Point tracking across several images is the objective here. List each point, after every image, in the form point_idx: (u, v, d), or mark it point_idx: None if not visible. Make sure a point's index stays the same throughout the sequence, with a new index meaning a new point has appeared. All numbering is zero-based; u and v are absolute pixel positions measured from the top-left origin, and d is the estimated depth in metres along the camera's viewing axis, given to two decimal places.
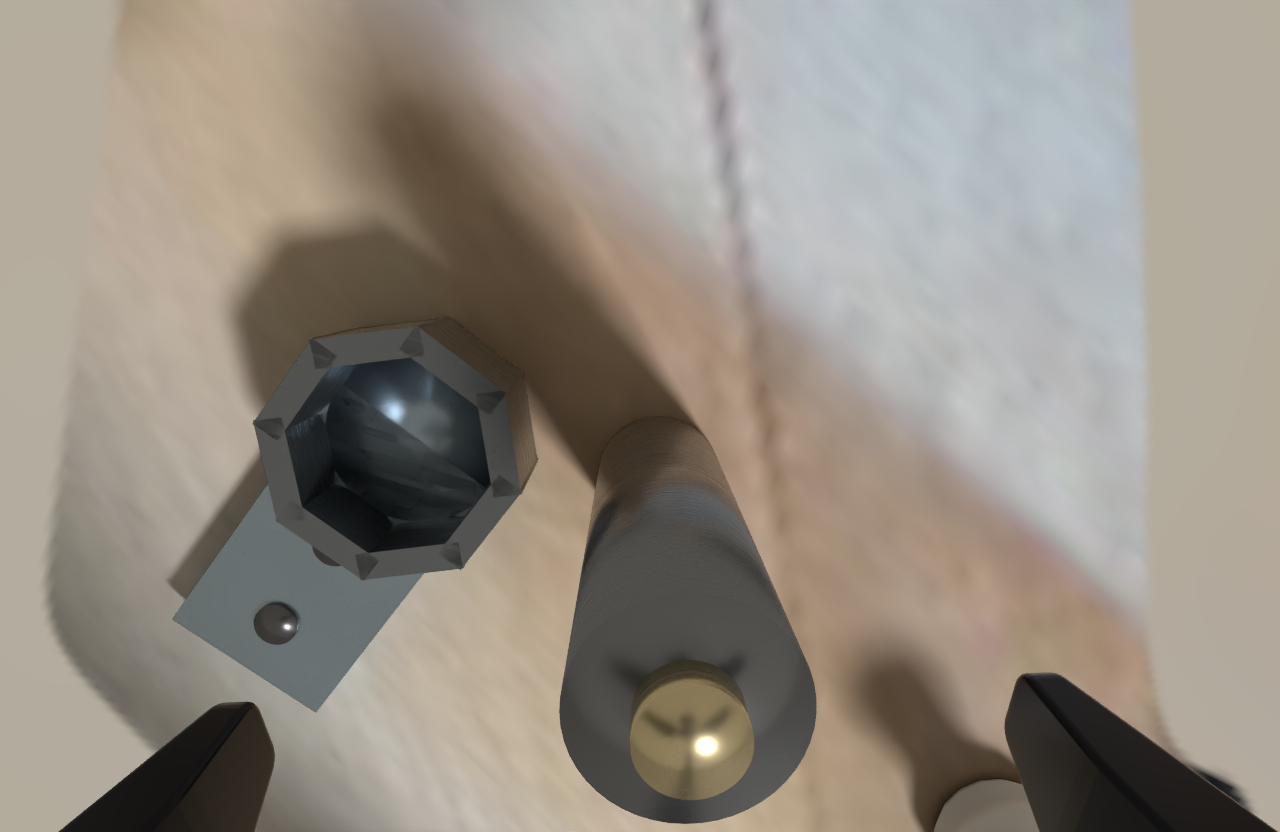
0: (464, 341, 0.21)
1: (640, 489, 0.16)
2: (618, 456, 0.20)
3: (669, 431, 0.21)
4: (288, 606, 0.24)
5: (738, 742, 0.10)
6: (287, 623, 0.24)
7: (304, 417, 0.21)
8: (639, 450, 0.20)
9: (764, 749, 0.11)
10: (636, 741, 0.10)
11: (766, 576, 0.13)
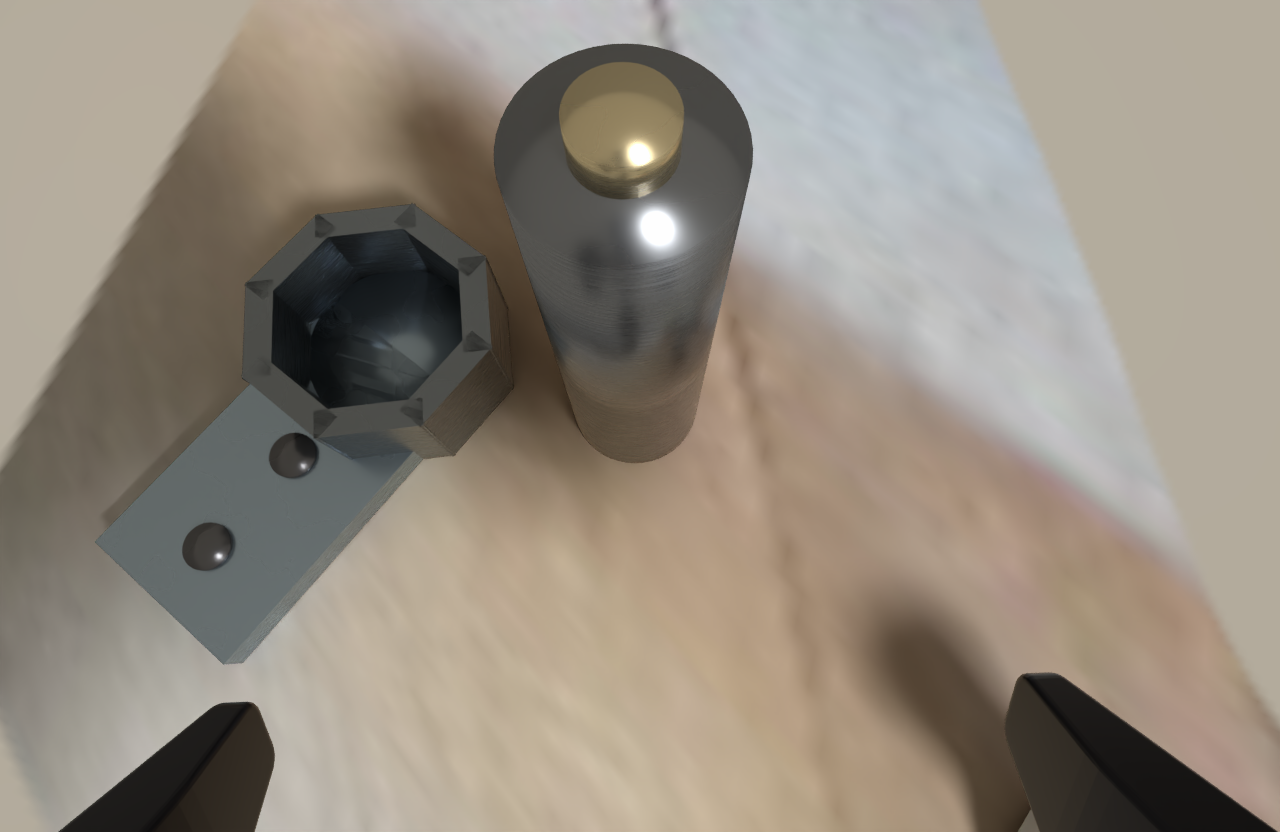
0: None
1: None
2: None
3: None
4: (226, 528, 0.22)
5: (667, 109, 0.10)
6: (220, 544, 0.21)
7: (293, 300, 0.22)
8: None
9: (702, 185, 0.11)
10: (565, 107, 0.10)
11: None
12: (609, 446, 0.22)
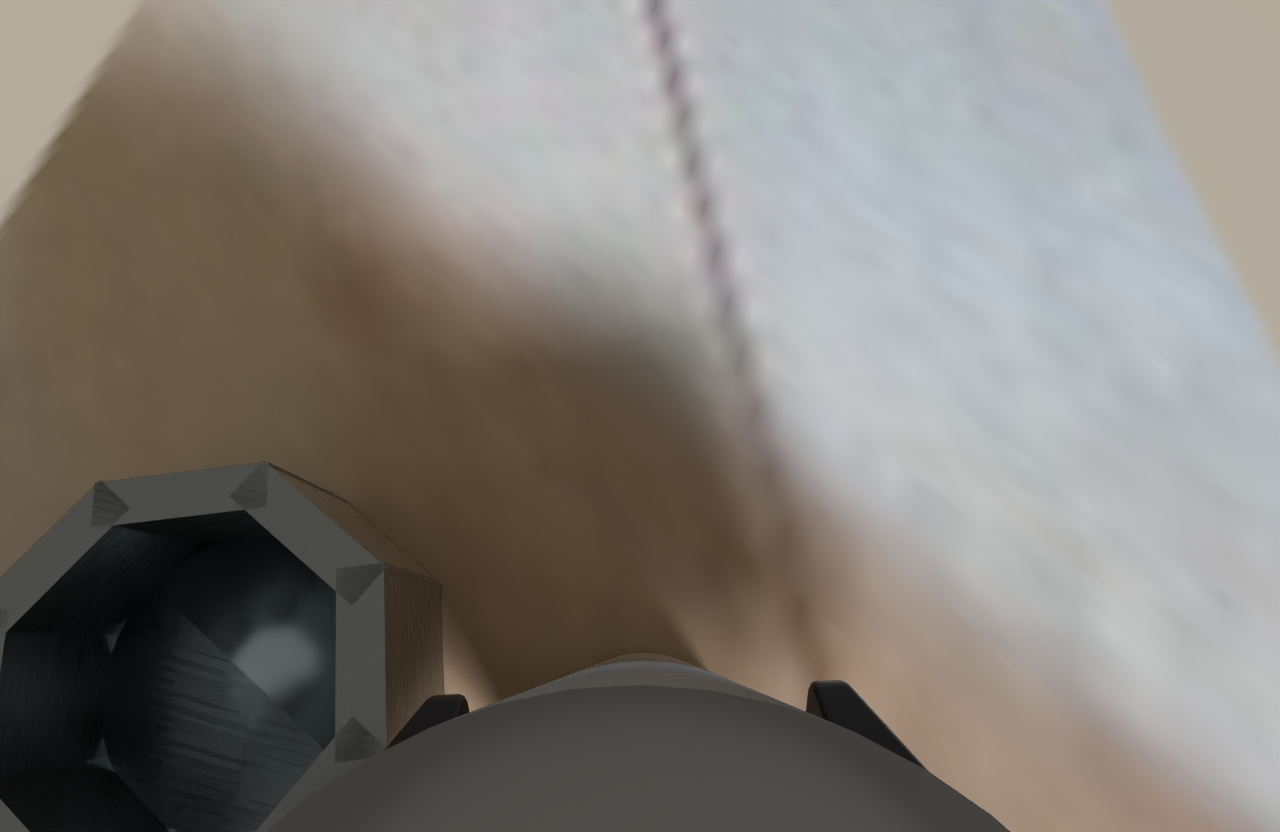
0: (349, 516, 0.14)
1: None
2: None
3: None
4: None
5: None
6: None
7: (61, 623, 0.13)
8: None
9: None
10: None
11: None
12: None
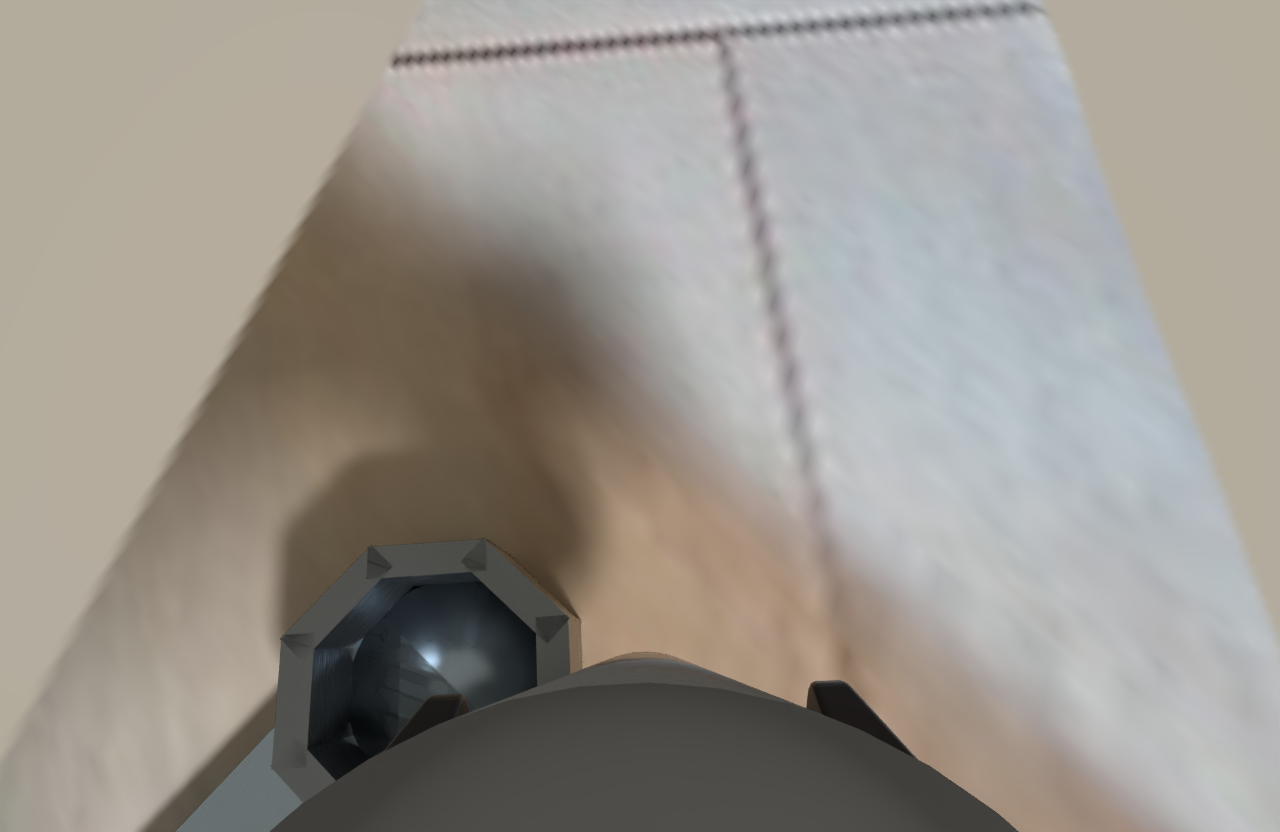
0: (525, 572, 0.20)
1: None
2: None
3: (657, 653, 0.13)
4: None
5: None
6: None
7: (336, 642, 0.18)
8: (601, 662, 0.11)
9: None
10: None
11: None
12: None
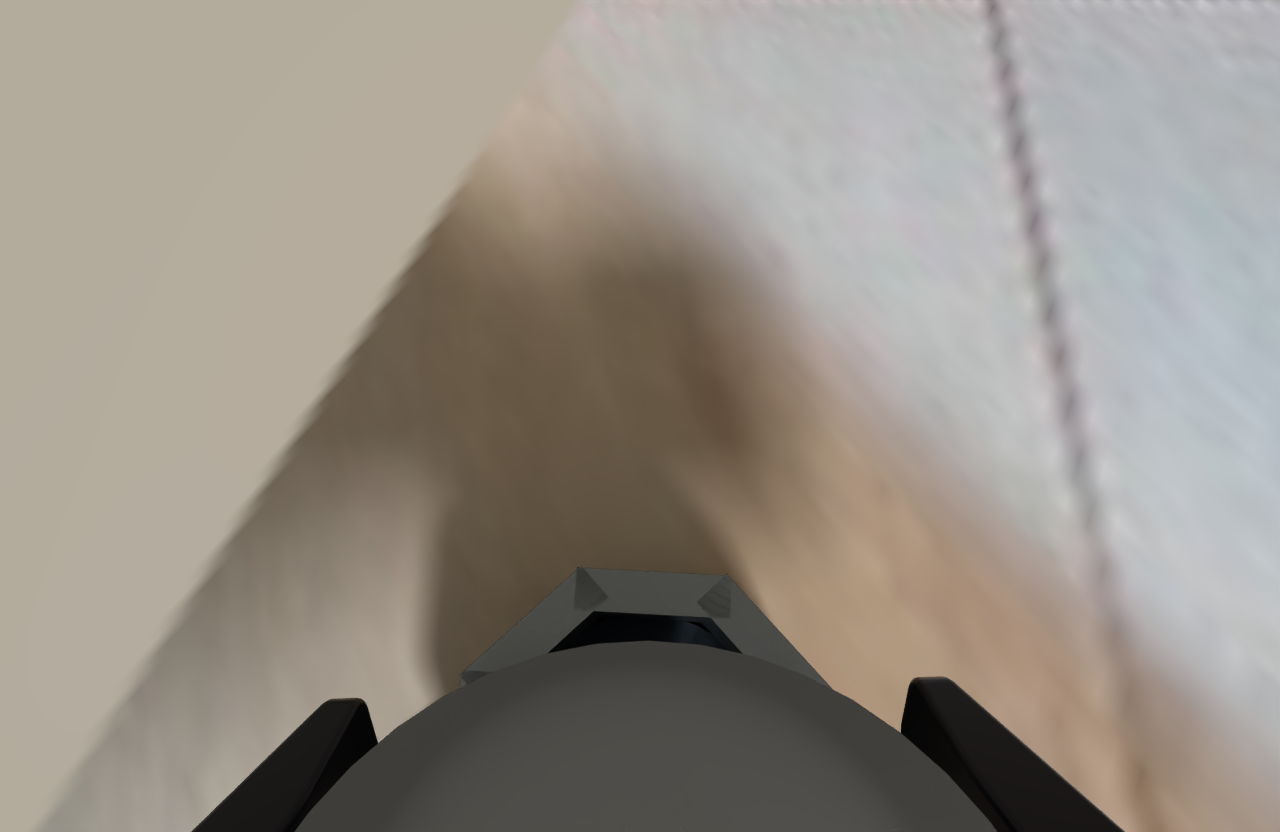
0: None
1: None
2: None
3: None
4: None
5: None
6: None
7: None
8: None
9: None
10: None
11: None
12: None
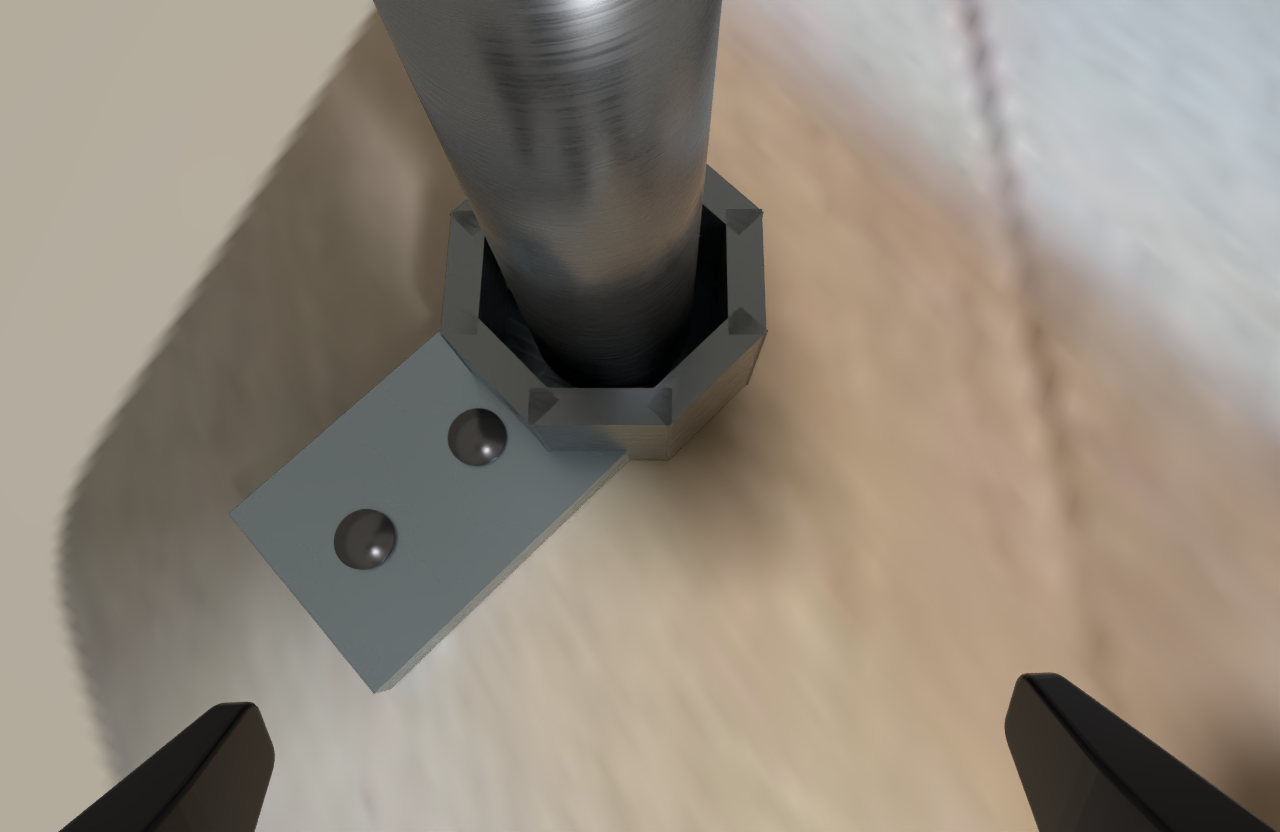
0: None
1: None
2: None
3: None
4: (389, 518, 0.17)
5: None
6: (380, 538, 0.17)
7: None
8: None
9: None
10: None
11: None
12: (576, 369, 0.16)
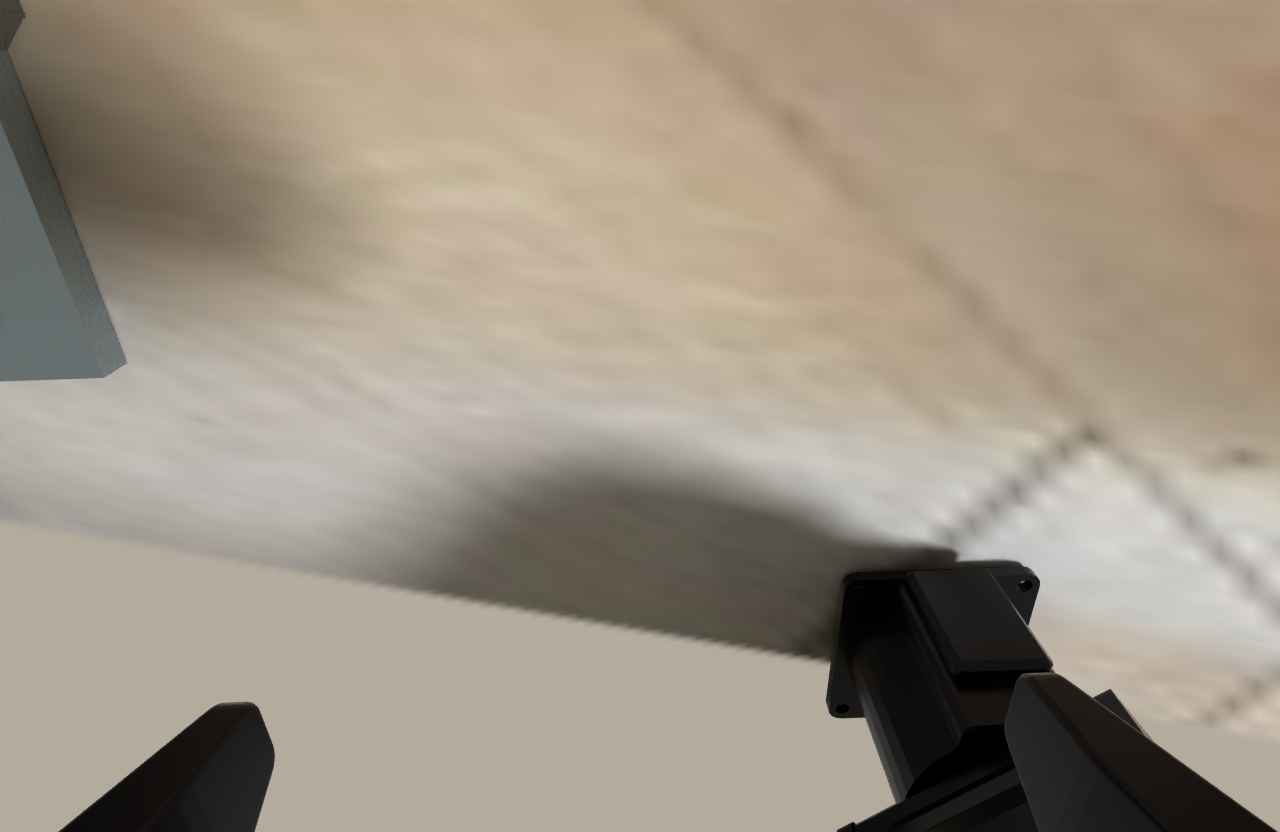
0: None
1: None
2: None
3: None
4: None
5: None
6: None
7: None
8: None
9: None
10: None
11: None
12: None
